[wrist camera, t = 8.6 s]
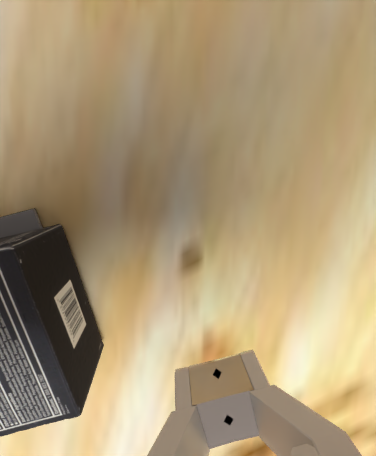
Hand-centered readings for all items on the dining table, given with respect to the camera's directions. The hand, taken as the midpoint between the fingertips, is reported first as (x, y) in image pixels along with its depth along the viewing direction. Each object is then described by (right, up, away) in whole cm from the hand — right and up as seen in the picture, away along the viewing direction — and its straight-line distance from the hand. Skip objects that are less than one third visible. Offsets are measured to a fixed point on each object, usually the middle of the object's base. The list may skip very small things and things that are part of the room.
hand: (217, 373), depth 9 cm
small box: (-8, 0, +6) cm, 11 cm away
